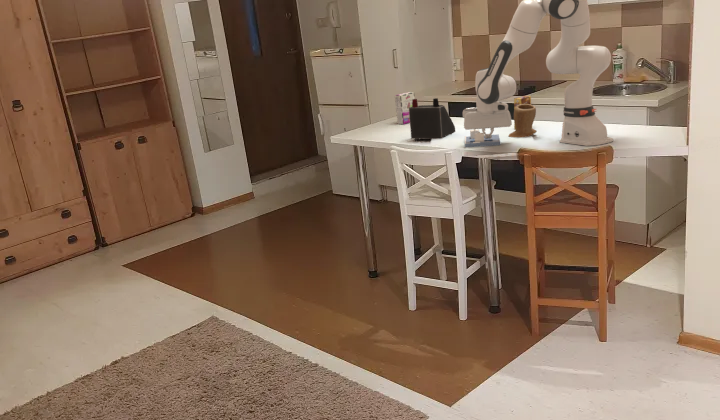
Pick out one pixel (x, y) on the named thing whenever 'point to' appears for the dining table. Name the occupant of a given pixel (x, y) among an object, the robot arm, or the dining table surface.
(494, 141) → the switch bank
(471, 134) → the tab
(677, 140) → the dining table surface
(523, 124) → the brown hollow flared piece
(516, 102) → the candy box
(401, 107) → the candy bar box
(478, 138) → the tab
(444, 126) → the voltmeter
